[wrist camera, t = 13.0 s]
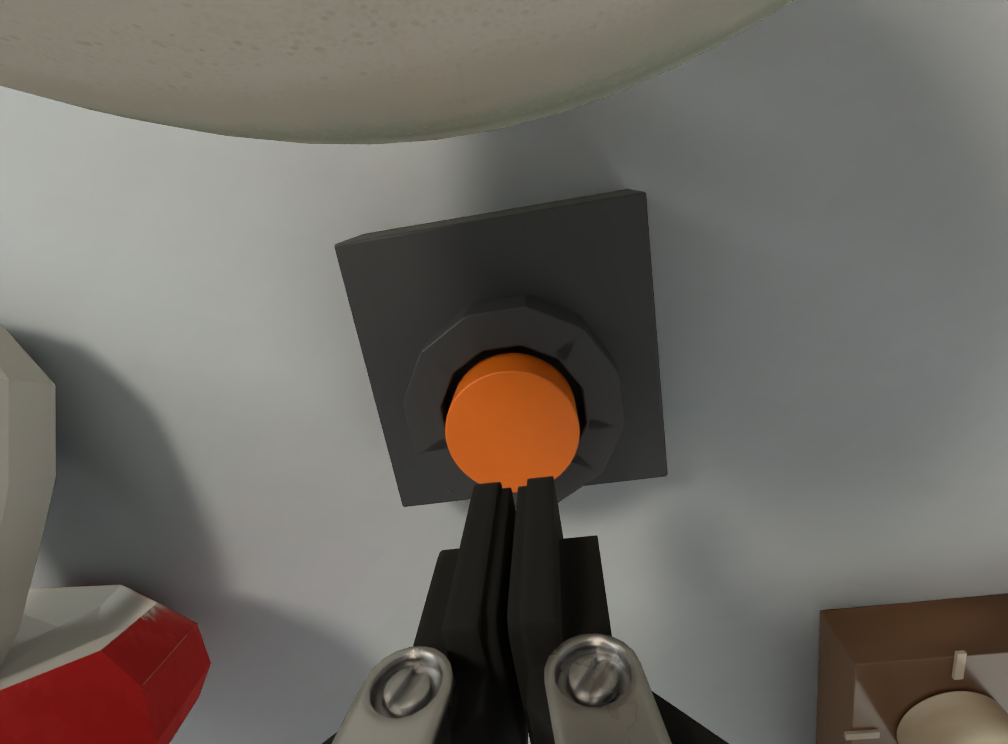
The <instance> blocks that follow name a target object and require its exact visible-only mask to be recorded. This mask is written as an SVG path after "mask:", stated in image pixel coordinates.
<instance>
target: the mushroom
mask: <svg viewBox="0 0 1008 744" xmlns="http://www.w3.org/2000/svg"><path fill="white" fill-rule="evenodd" d="M55 478H56V410H55V384H54V383H53V382H52V381H51V380H50V378H49V377H48V376H47V375H46V374H45V373H44V372H43V371H42V369H41V368H40V367H39V366H38V365H37V364H36V363H35V362H34V361H33V359H32V358H31V357H30V356H29V355H28V354H27V353H26V352H25V350H24V349H23V348H22V347H21V346H20V345H19V344H18V343H17V342H16V340H15V339H14V338H13V337H12V336H11V335H10V334H9V333H8V331H7V330H6V329H5V328H4V327H3V326H2V325H1V324H0V744H169V743H170V742H171V740H172V738H173V737H174V735H175V734H176V732H177V731H178V729H179V727H180V726H181V724H182V723H183V721H184V720H185V718H186V716H187V715H188V713H189V712H190V710H191V709H192V707H193V705H194V704H195V702H196V701H197V699H198V698H199V695H200V692H201V689H202V687H203V684H204V681H205V678H206V675H207V672H208V670H209V667H210V664H211V662H210V659H209V656H208V653H207V651H206V648H205V645H204V642H203V639H202V636H201V633H200V631H199V628H198V625H197V623H195V622H194V621H192V620H190V619H188V618H186V617H184V616H182V615H180V614H178V613H176V612H175V611H173V610H171V609H169V608H167V607H165V606H163V605H161V604H159V603H157V602H155V601H153V600H151V599H149V598H147V597H145V596H143V595H141V594H139V593H137V592H135V591H133V590H131V589H129V588H127V587H125V586H123V585H102V586H80V587H58V588H36V589H29V588H30V584H31V580H32V576H33V572H34V568H35V564H36V560H37V556H38V552H39V548H40V544H41V540H42V536H43V531H44V527H45V523H46V518H47V514H48V509H49V505H50V500H51V496H52V492H53V487H54V483H55Z"/></svg>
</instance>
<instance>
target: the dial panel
mask: <svg viewBox="0 0 1008 744" xmlns="http://www.w3.org/2000/svg"><path fill="white" fill-rule="evenodd" d="M953 691H970V692H976V693H980V694H983V695H986V696H988V697H990V698H992V699H993V700H995V701H996V702H997V703H999V704H1000V705H1001V706H1002V708H1003V709H1004V710H1005V711H1006V712H1007V713H1008V594H1001V595H990V596H978V597H967V598H956V599H945V600H934V601H923V602H912V603H901V604H890V605H879V606H867V607H856V608H845V609H834V610H823V611H820V637H819V671H818V705H817V738H816V744H898V742H897V728H898V725H899V723H900V721H901V719H902V718H903V716H904V715H905V714H906V713H907V712H908V711H909V710H910V709H911V708H912V707H913V706H915V705H916V704H918V703H919V702H921V701H923V700H925V699H927V698H929V697H932V696H934V695H938V694H941V693H946V692H953Z"/></svg>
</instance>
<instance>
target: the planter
mask: <svg viewBox="0 0 1008 744" xmlns="http://www.w3.org/2000/svg"><path fill="white" fill-rule="evenodd" d="M791 1H793V0H0V86H4V87H8V88H11V89H15V90H19V91H23V92H26V93H30V94H34V95H38V96H41V97H45V98H49V99H53V100H56V101H60V102H64V103H67V104H71V105H75V106H79V107H82V108H86V109H90V110H94V111H99V112H103V113H108V114H112V115H116V116H121V117H125V118H130V119H136V120H141V121H146V122H152V123H157V124H163V125H168V126H174V127H179V128H185V129H190V130H196V131H201V132H207V133H213V134H219V135H225V136H235V137H245V138H255V139H266V140H276V141H286V142H297V143H308V144H385V143H398V142H412V141H425V140H437V139H444V138H450V137H456V136H462V135H468V134H475V133H481V132H487V131H493V130H497V129H501V128H505V127H509V126H513V125H517V124H521V123H525V122H529V121H533V120H537V119H541V118H545V117H549V116H553V115H556V114H559V113H561V112H564V111H567V110H570V109H573V108H576V107H579V106H582V105H585V104H588V103H591V102H594V101H597V100H600V99H602V98H605V97H608V96H611V95H613V94H616V93H618V92H620V91H622V90H625V89H627V88H629V87H632V86H634V85H636V84H639V83H641V82H643V81H645V80H648V79H650V78H652V77H655V76H657V75H659V74H662V73H664V72H666V71H669V70H671V69H673V68H675V67H677V66H679V65H681V64H683V63H685V62H687V61H688V60H690V59H692V58H694V57H696V56H698V55H700V54H702V53H704V52H705V51H707V50H709V49H711V48H713V47H715V46H717V45H719V44H721V43H722V42H724V41H726V40H728V39H730V38H732V37H734V36H736V35H738V34H739V33H741V32H743V31H745V30H747V29H748V28H750V27H751V26H753V25H755V24H756V23H758V22H759V21H761V20H763V19H764V18H766V17H767V16H769V15H771V14H772V13H774V12H775V11H777V10H779V9H780V8H782V7H783V6H785V5H787V4H788V3H790V2H791Z"/></svg>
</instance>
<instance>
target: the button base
mask: <svg viewBox="0 0 1008 744" xmlns="http://www.w3.org/2000/svg"><path fill="white" fill-rule="evenodd" d="M335 250H336V254H337V258H338V262H339V266H340V269H341V273H342V277H343V281H344V285H345V288H346V292H347V296H348V300H349V304H350V307H351V311H352V315H353V319H354V323H355V326H356V330H357V334H358V338H359V341H360V345H361V349H362V353H363V357H364V360H365V364H366V368H367V372H368V376H369V379H370V383H371V387H372V391H373V395H374V398H375V402H376V406H377V410H378V414H379V417H380V421H381V425H382V429H383V433H384V436H385V440H386V444H387V448H388V452H389V455H390V459H391V463H392V467H393V471H394V474H395V478H396V482H397V486H398V489H399V493H400V497H401V501H402V505H403V507H407V506H416V505H424V504H433V503H441V502H450V501H459V500H467V499H471V496H472V492H473V487H474V485H475V484H479V483H477V482H475V481H474V480H472V479H471V478H470V477H468V476H467V475H466V474H465V473H464V472H463V471H462V470H461V469H460V468H459V467H458V465H457V464H456V463H455V461H454V459H453V458H452V456H451V454H450V452H449V449H448V446H447V442H446V436H445V424H446V417H447V414H448V411H449V408H450V405H451V402H452V399H453V397H454V394H455V391H456V389H457V386H458V384H459V382H460V381H461V379H462V378H463V376H464V375H465V374H466V373H467V372H468V371H469V370H470V369H471V368H472V367H473V366H474V365H476V364H477V363H479V362H480V361H482V360H484V359H486V358H489V357H492V356H494V355H499V354H503V353H523V354H528V355H532V356H535V357H538V358H540V359H542V360H544V361H546V362H548V363H549V364H551V365H552V366H554V367H555V368H556V369H557V370H558V371H559V372H560V373H561V374H562V375H563V376H564V377H565V379H566V380H567V382H568V383H569V385H570V387H571V389H572V392H573V395H574V399H575V403H576V409H577V414H578V420H579V426H580V438H579V444H578V448H577V451H576V454H575V456H574V458H573V460H572V461H571V463H570V464H569V466H568V467H567V468H566V470H565V471H564V472H563V473H562V474H561V475H560V476H558V477H557V478H556V479H555V480H554V482H555V488H556V495H557V501H558V502H560V501H561V500H563V499H564V498H566V497H567V496H569V495H570V494H572V493H573V492H575V491H576V490H578V489H579V488H581V487H582V486H587V485H595V484H604V483H612V482H621V481H629V480H638V479H646V478H655V477H663V476H667V474H668V472H667V459H666V446H665V433H664V420H663V407H662V394H661V381H660V368H659V355H658V342H657V329H656V316H655V303H654V290H653V277H652V264H651V252H650V239H649V226H648V213H647V200H646V193H645V192H641V191H635V190H629V189H625V190H620V191H614V192H608V193H602V194H596V195H590V196H584V197H579V198H573V199H567V200H561V201H555V202H549V203H543V204H538V205H532V206H526V207H520V208H514V209H508V210H502V211H496V212H491V213H485V214H479V215H473V216H467V217H461V218H455V219H450V220H444V221H438V222H432V223H426V224H420V225H414V226H409V227H403V228H397V229H391V230H385V231H379V232H373V233H367V234H363V235H360V236H357V237H354V238H351V239H349V240H346V241H343V242H340V243H337V244H335ZM512 493H513V498H514V504H515V508H516V504H517V493H518V492H512Z"/></svg>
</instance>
